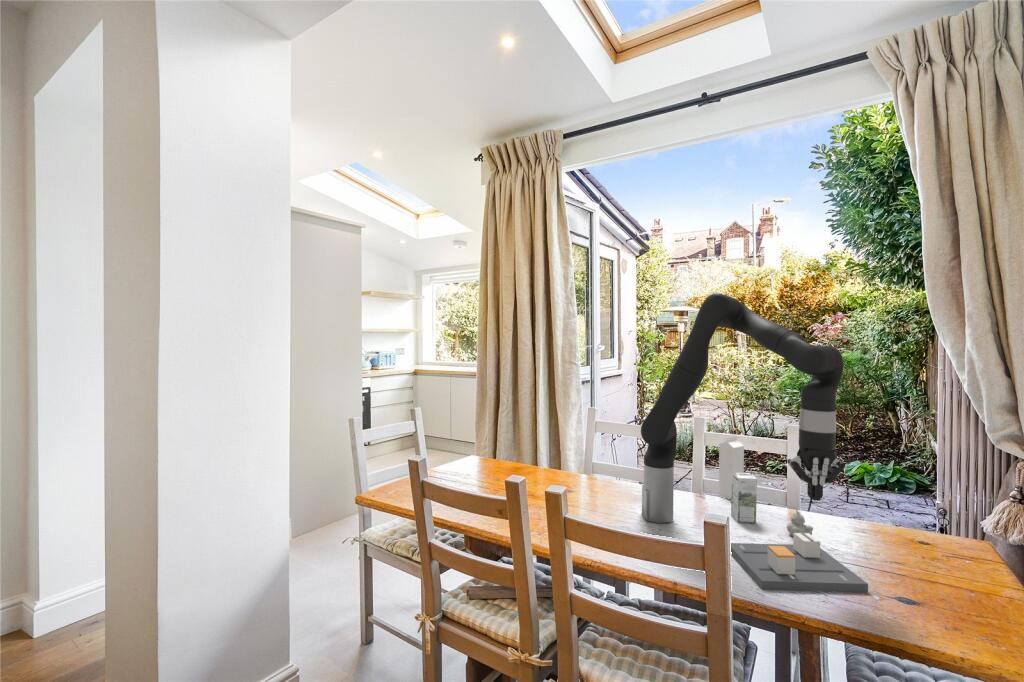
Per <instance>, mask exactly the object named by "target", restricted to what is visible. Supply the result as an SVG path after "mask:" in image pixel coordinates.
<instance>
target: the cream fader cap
mask: <svg viewBox="0 0 1024 682" xmlns="http://www.w3.org/2000/svg"><path fill="white" fill-rule="evenodd" d="M792 545H793V549H795V550H796V551H797V552H798V553H799V554H801V555H802V556H803V557H810V558H820V548H821V541H820V540H819V539H818V538H816V537H815V536H814V535H813V534H812V535H811V534H809V533H803V532H800V533H794V536H793V544H792Z"/></svg>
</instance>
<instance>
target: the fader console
mask: <svg viewBox="0 0 1024 682" xmlns="http://www.w3.org/2000/svg"><path fill="white" fill-rule="evenodd" d="M730 543H731V552H732V555H731V556H732V558H733V559H734V560H735V561H736V562H737V564H739V566H740V567H741V568H742V569H743V570H744V571H745V572H746V574H747V575H748V576H749V577H750V578H751V579H752V580H753V581H754V583H755V584H756V585H757V586H758V587H759V588H760V589H761V590H766V591H767V590H769V591H798V592H800V591H803V592H805V591H807V592H832V591H836V592H835V593H838V592H840V593H841V592H842V593H867V592H868V593H869V583H868V582H866V581H865V580H864V579H862V578H861V577H860V576H858V574H855V572H853V571H852V570H850V569H849V568H848V567H847V566H845V565H844V564H843V563H841V562H840V561H838V560H837V559H836V558H834V557H833V556H832V555H831V554H829V553H828V552H826V551H825V550H824V549H822V548H821V547H820V558H810V557H803V556H802V555H801V554H799V553H798V552H797V551H796V550H795V549H793V544H785V543H784V544H783V543H781V544H780V543H750V542H749V543H747V542H746V543H744V542H743V543H742V542H741V543H739V542H730ZM768 546H784V547H786V548H787V549H788V550H789V551H790V552H791V553H793V554H794V555H795V574H777V573H776V572H775V571H774V570H773V569H772V568H771V567H770V566H769V565H768Z"/></svg>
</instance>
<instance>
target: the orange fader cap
mask: <svg viewBox="0 0 1024 682" xmlns="http://www.w3.org/2000/svg"><path fill="white" fill-rule="evenodd" d="M768 565H769V566H770V567H771V568H772V569H773V570H774V571H775V572H776V573H777V574H795V555H794V554H793V553H791V552H790V551H789V550H788V549H787V548H786V547H784V546H768Z"/></svg>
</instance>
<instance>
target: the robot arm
mask: <svg viewBox="0 0 1024 682" xmlns="http://www.w3.org/2000/svg"><path fill="white" fill-rule="evenodd" d="M718 327H719V328H725V329H731V330H734V331H737V332H741V333H742V334H745V335H746V336H749V337H750V338H752V339H753V340H754V341H755V342H757V344H759V345H761V347H764V348H765V349H767V350H769V351H770V352H772V353H774V354H776V355H778V356H779V357H782V358H783V359H784V360H785V361H786V362H787V363H789V365H791V366H792V367H793V368H794V369H796V370H797V371H799V372H801V373H802V374H806V375H809V376H811V380H810V382H809V383H808V384H806V385H804V386H803V387H802V389H801V392H800V394H801V395H800V413H799V416H798V417H799V419H798V451H797V452H796V456H794V458H792V459H791V458H787V464H788V465H789V466H790V468H791V469H792V471H794V473H795V475H796V476H797V477H798V478H799V479H800V480H802V481H803V482H804V483H806V484H807V490H806V491H807V496H808V497H809V499H810V500H812V501H818V502H819V501H821V499H822V498H823V496H824V485H825V484H832V483H833V482H834V481H835V479H836V478H837V477H838V476H839V475H840V474H841V473H842V472H843V470H844V469H845V468H846V463H844V462H843V461H841V460H840V459H838V458H837V454H836V451H835V450H836V443H837V441H836V440H837V438H836V437H837V416H836V402H837V401H836V400H837V399H836V398H837V397H836V394H837V390H838V388H839V387H840V382H841V379H842V375H843V371H844V367H845V366H844V357H843V355H842V353H841V351H840V350H839V349H838V348H836V347H834V346H832V345H813V344H811V343H808V342H806V340H805V338H804V336H802V335H801V334H800V333H798V332H796V331H794V330H792V329H789V328H788V327H785V326H784V325H781V324H779V323H776V322H774V321H772V320H769V319H767V318H764V317H762V316H761V315H759V314H757V313H755V312H754V311H753V310H751V309H750V308H748V307H747V306H746V305H745V304H743V303H742V302H740V301H739V300H738V299H737V298H734V297H732V296H730V295H726V294H723V293H721V292H713V293H711V294H709V295H707V297H706V298H705V299H704V300H703V302H702V304H701V305H700V307H699V310H698V312H697V315H696V317H695V320H694V323H693V325H692V327H691V330H690V333H689V335H688V337H687V340H686V341H685V344H684V345H683V348H682V349H681V352H680V353H679V355H678V356H677V359H676V360H675V363H674V364H673V366H672V369H671V370H670V372H669V374H668V377H667V379H666V380H665V383H664V385H663V387H662V389H661V391H660V394H659V396H658V399H656V402H655V403H654V405H653V406H652V408H651V410H650V411H649V413H648V414H647V416H646V417H645V419H644V420H643V421H642V424H641V426H640V434H641V437H642V438H641V439H642V440H643V441H644V442H645V443H646V444H647V449H646V451H645V454H644V455H643V484H642V486H641V515H642V516H643V518H644V520H645V522H646V521H647V522H653V523H658V524H666V522H668V523H671V522H673V521H674V487H675V486H674V485H675V484H674V479H675V478H674V474H675V473H674V472H675V466H674V465H675V459H676V455H677V444H678V443H677V442H678V441H677V438H678V432H677V431H678V430H677V425H676V422H675V420H676V418H677V416H678V414H679V412H680V411H681V409H682V408H683V407H684V406H685V405H686V403H687V402H688V401H689V400H690V399H691V397H692V396H693V395H694V394H695V392H697V390H698V388H699V387H700V385H701V384H702V381H703V380H704V377H705V376H706V373H707V371H708V367H709V349H710V348H709V347H710V343H711V340H712V338H713V335H714V334H715V332H716V330H717V328H718ZM802 465H803V467H804V469H803V468H802ZM672 520H673V521H672Z"/></svg>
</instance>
